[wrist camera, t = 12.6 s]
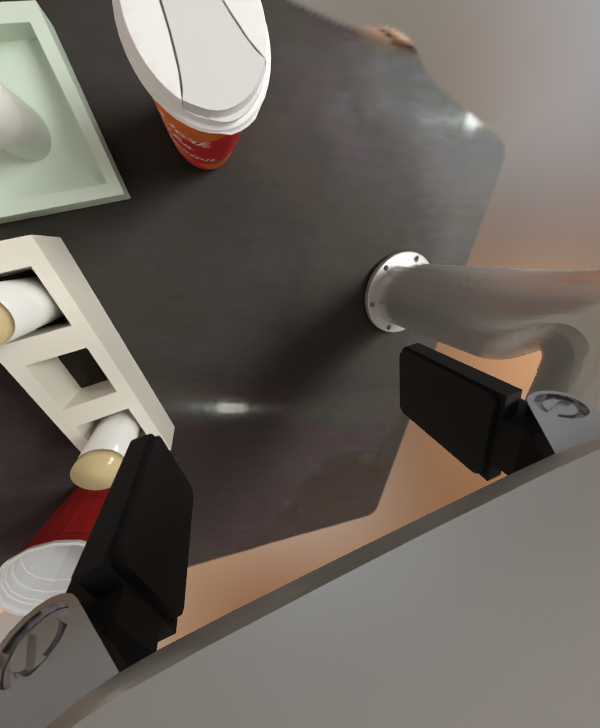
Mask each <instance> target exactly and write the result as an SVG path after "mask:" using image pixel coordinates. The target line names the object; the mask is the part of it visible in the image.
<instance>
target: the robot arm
mask: <svg viewBox="0 0 600 728" xmlns="http://www.w3.org/2000/svg"><path fill="white" fill-rule="evenodd" d="M365 308H366V313H367V315H368V317H369V319H370V321H371V322H372V323H373V324H374V325H375V326H376V327H377V328H379V329H381V330H383V331H386V332H399V331H402V330H405V329H407V330H410V331H413V332H415V333H418V334H420V335H423V336H425V337H428V338H430V339H433V340H436V341H438V342H441V343H443V344H446V345H448V346H451V347H454V348H456V349H459V350H461V351H464V352H467V353H469V354H472V355H475V356H477V357H480V358H484V359H489V360H504V359H511V358H516V357H520V356H523V355H527V354H530V353H533V352H536V351H541V353H542V358H541V361H540V364H539V366H538V368H537V373H536V376H535V378H534V380H533V382H532V385H531V387H530V389H529V391H528V393H527V396H526V398H525V400H523V399H521V393H522V389H519V388H517V387H515V386H513V385H510V384H508V383H506V382H504V381H502V380H499V379H497V378H495V377H493V376H490V375H488V374H486V373H484V372H482V371H479V370H477V369H475V368H473V367H471V366H468V365H466V364H464V363H462V362H459V361H457V360H455V359H453V358H451V357H448V356H446V355H444V354H442V353H439V352H437V351H435V350H433V349H431V348H428V347H426V346H424V345H422V344H419V343H416V344H413V345H410V346H407V347H404V348H403V350H402V352H401V353H400V407H401V410H402V411H403V413H404V414H405V415H406V416H408V417H409V418H410V419H411V420H412V421H414V422H415V423H416V424H417V425H418V426H419V427H421V428H422V429H423V430H424V431H425V432H426V433H427V434H429V435H430V436H431V437H432V438H433V439H434V440H436V441H437V442H438V443H439V444H440V445H442V446H443V447H444V448H445V449H446V450H447V451H448V452H450V453H451V454H452V455H453V456H454V457H456V458H457V459H458V460H459V461H460V462H461V463H463V464H464V465H465V466H466V467H467V468H468V469H470V470H471V471H472V472H474V473H479V474H480V475H481V476H482V477H483V478H485V479H486V480H487V481H488V480H491V479H493V478H495V477H497V476H499V475H500V474H501V471H503V472H504V473H505V474H507V475H508V476H506V477H504V478H502V479H500V480H498V481H496V482H494V483H492V484H490V485H488V486H486V487H483V488H482V489H479V490H477V491H475V492H473V493H471V494H469V495H467V496H465V497H463V498H461V499H459V500H457V501H455V502H452V503H451V504H448V505H446V506H444V507H442V508H440V509H438V510H436V511H434V512H432V513H430V514H428V515H426V516H424V517H422V518H420V519H418V520H416V521H413V522H411V523H409V524H408V525H406V526H403V527H401V528H399V529H398V530H395V531H393V532H391V533H389V534H387V535H385V536H383V537H381V538H379V539H377V540H375V541H373V542H371V543H369V544H367V545H365V546H363V547H361V548H359V549H357V550H355V551H353V552H351V553H348V554H347V555H345V556H342V557H341V558H338V559H336V560H334V561H332V562H330V563H328V564H326V565H324V566H322V567H320V568H318V569H316V570H314V571H312V572H310V573H308V574H306V575H304V576H302V577H300V578H298V579H296V580H294V581H292V582H290V583H288V584H286V585H284V586H282V587H280V588H278V589H276V590H274V591H272V592H270V593H268V594H266V595H264V596H262V597H260V598H258V599H256V600H254V601H252V602H250V603H248V604H246V605H244V606H242V607H240V608H238V609H236V610H234V611H232V612H230V613H228V614H227V615H224V616H223V617H221V618H219V619H217V620H215V621H213V622H211V623H209V624H207V625H205V626H203V627H201V628H199V629H198V630H196V631H194V632H192V633H190V634H188V635H186V636H184V637H182V638H180V639H178V640H176V641H175V642H173V643H171V644H169V645H167V646H165V647H163V648H161V649H159V650H157V644H158V642H159V641H161V640H163V639H165V638H167V637H169V636H171V635H173V634H175V633H176V627H177V617H178V616H180V615H181V614H182V612H183V609H184V601H185V589H186V578H187V566H188V554H189V542H190V530H191V518H192V506H193V491H192V488H191V486H190V484H189V482H188V481H187V479H186V477H185V476H184V474H183V472H182V471H181V469H180V467H179V466H178V464H177V462H176V461H175V459H174V457H173V456H172V454H171V452H170V451H169V449H168V447H167V446H166V444H165V442H164V441H163V439H162V438H161V437H160V436H154V435H153V434H148V435H145V436H142V437H139V438H136V439H133V440H131V442H130V444H129V446H128V448H127V451H126V453H125V455H124V458H123V460H122V462H121V465H120V467H119V469H118V471H117V474H116V476H115V478H114V481H113V483H112V485H111V487H110V490H109V492H108V494H107V497H106V499H105V501H104V503H103V506H102V508H101V510H100V513H99V515H98V517H97V519H96V522H95V524H94V526H93V529H92V531H91V533H90V536H89V538H88V540H87V542H86V545H85V547H84V549H83V552H82V554H81V556H80V558H79V561H78V563H77V565H76V568H75V570H74V572H73V574H72V577H71V582H70V584H69V586H68V588H67V591H66V593H62V594H59V595H56V596H53V597H51V598H49V599H47V600H46V601H44V602H43V603H41V604H39V605H38V606H37V607H35V608H34V609H33V610H32V611H30V612H29V613H28V614H27V615H26V616H24V617H23V619H22V620H21V621H19V622H18V624H17V625H16V626H15V627H14V628H13V629H12V630H11V631H10V632H9V633H8V634H7V636H6V637H5V639H4V640H3V641H2V642H1V644H0V728H600V270H530V269H511V268H493V267H475V266H459V265H442V264H429V262H428V261H427V260H426V259H425V257H423V256H422V255H420V254H418V253H416V252H409V251H405V252H398V253H395V254H392V255H391V256H389V257H387V258H386V259H385V260H383V261H382V262H381V263H380V264H379V265H378V266H377V267H376V269H375V270H374V272H373V273H372V275H371V277H370V279H369V282H368V284H367V288H366V292H365Z"/></svg>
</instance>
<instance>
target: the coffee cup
mask: <svg viewBox="0 0 600 728" xmlns="http://www.w3.org/2000/svg"><path fill="white" fill-rule="evenodd" d="M112 3H113V10H114V17H115V22H116V25H117V29H118V33H119V37H120V40H121V42H122V45H123V48H124V50H125V53H126V55H127V57H128V59H129V61H130V63H131V65H132V67H133V69H134V71H135V73H136V75H137V76H138V78H139V79H140V81H141V83H142V84H143V86H144V87H145V88H146V90H147V91H148V92H149V93H150V95H151V96H152V98H153V100H154V102H155V104H156V106H157V109H158V111H159V113H160V115H161V117H162V119H163V122H164V124H165V126H166V128H167V130H168V132H169V134H170V136H171V138H172V140H173V142H174V144H175V146H176V148H177V149H178V151H179V152H180V153H181V155H182V156H183V157H184V158H185V159H186V160H187V161H188V162H189V163H191V164H192V165H194V166H196V167H198V168H201V169H205V170H211V169H216V168H218V167H220V166H221V165H223V164H224V163H225V162H226V160H227V159H228V157H229V156H230V154H231V152H232V150H233V148H234V146H235V144H236V142H237V140H238V138H239V136H240V134H241V132H242V130H243V129H245V128H246V127H248V126H249V125H250V124H251V123H252V122H253V121H254V120H255V118H256V116H257V114H258V111H259V109H260V106H261V104H262V102H263V100H264V98H265V95H266V91H267V88H268V84H269V77H270V67H271V53H270V41H269V36H268V30H267V25H266V22H265V17H264V11H263V8H262V4H261V1H260V0H112Z"/></svg>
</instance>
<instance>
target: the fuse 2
mask: <svg viewBox="0 0 600 728" xmlns="http://www.w3.org/2000/svg"><path fill="white" fill-rule="evenodd" d="M140 429H141V426H140V424H139V423H138V422H137V420H136V419H135V417H134V416H133V414H132V413H131V411H130V410H129V408H128V409H125V410H122V411H119V412H116V413H114V414H111V415H108V416H105V417H102V419H101V421H100V422H99V424H98V426H97V427H96V429H95V431H94V432H93V434H92V436H91V437H90V439H89V441H88V442H87V444H86V445H85V447H84V449H83V450H82V452H81V454H80V455H79V457H78V459H77V460H76V462H75V464H74V465H73V467H72V469H71V471H70V477H71V480H72V481H73V482H74V483H75V484H76V485H77V486H79V487H81V488H84V489H88V490H102V489H107V488H110V487H111V485H112V483H113V481H114V478H115V476H116V474H117V471H118V469H119V467H120V465H121V462H122V460H123V458H124V455H125V453H126V451H127V448H128V446H129V444H130V442H131V440H133V439H136V438H137V437H138V434H139V431H140Z"/></svg>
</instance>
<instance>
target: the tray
mask: <svg viewBox="0 0 600 728" xmlns="http://www.w3.org/2000/svg"><path fill="white" fill-rule="evenodd" d="M0 82H1V83H2V84H3V85H5V86H6V87H7V88H8V89H10V90H11V91H12V92H13V93H15V94H16V95H17V96H18V97H20V98H21V99H22V100H23V101H25V102H26V103H27V104H28V105H30V106H31V107H32V108H33V109H34V110H35V111H36V112H37V113H38V114H39V115H40V116H41V118H42V119H43V120H44V122H45V124H46V125H47V127H48V130H49V132H50V136H51V149H50V152H49V154H48V155H47V156H46V157H45V158H44V159H42V160H40V161H35V162H29V161H23V160H20V159H17V158H15V157H13V156H10V155H8V154H6V153H4V152H2V151H0V224H3V223H9V222H14V221H19V220H24V219H29V218H34V217H39V216H44V215H50V214H55V213H60V212H65V211H70V210H75V209H80V208H85V207H91V206H96V205H101V204H106V203H111V202H116V201H121V200H126V199H131V197H130V195H129V193H128V191H127V188H126V186H125V184H124V182H123V180H122V177H121V175H120V173H119V171H118V168H117V166H116V164H115V162H114V160H113V157H112V155H111V153H110V151H109V149H108V146H107V144H106V142H105V140H104V137H103V135H102V133H101V131H100V129H99V126H98V124H97V122H96V120H95V118H94V115H93V113H92V111H91V109H90V107H89V104H88V102H87V100H86V98H85V95H84V93H83V91H82V89H81V87H80V84H79V82H78V80H77V78H76V76H75V73H74V71H73V69H72V67H71V64H70V62H69V60H68V58H67V56H66V53H65V51H64V49H63V47H62V45H61V42H60V40H59V38H58V36H57V34H56V31H55V29H54V27H53V25H52V24H51V22H50V21H49V19H48V18H47V17H46V15H45V14H44V12H43V11H42V9H41V8H40V6H39V5H38V3H37V2H36V1H14V2H0Z"/></svg>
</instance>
